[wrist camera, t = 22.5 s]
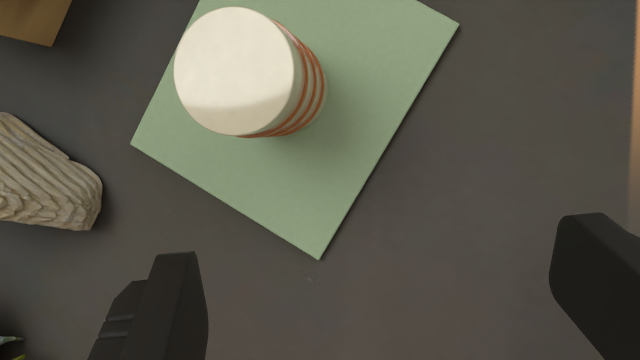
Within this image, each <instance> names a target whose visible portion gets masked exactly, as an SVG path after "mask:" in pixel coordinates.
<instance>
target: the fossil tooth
mask: <svg viewBox="0 0 640 360" xmlns="http://www.w3.org/2000/svg"><path fill="white" fill-rule="evenodd" d="M101 197H102V183H101V180H100V178H99V177H98V176H97V175H96V174H95V173H94V172H93V171H91V170H90V169H88V168H87V167H85V166H83V165H81V164H79V163H76V162H74V161H70V160H69V157H68V156H67V155H66V154H64V153H63V152H62V151H60V150H59V149H57V148H56V147H55V146H53V145H52V144H50V143H49V142H48V141H46V140H45V139H43V138H42V137H40V136H39V135H38V134H37V133H36V132H35V131H33V130H32V129H31V128H30V127H28V126H27V125H26V124H24V123H23V122H22V121H20V120H19V119H18V118H16V117H14V116H13V115H11V114H9V113H4V112H0V220H2V221H5V220H6V221H14V222H18V223H25V224H31V225H33V224H38V225H42V226H52V227H57V228H62V229H67V228H68V229H71V230H74V231H78V230H90V229H91V227H92V225H93V224H94V222H95V220H96V218H97V215H98V213H99V212H100V211H101Z"/></svg>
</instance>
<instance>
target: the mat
mask: <svg viewBox="0 0 640 360" xmlns="http://www.w3.org/2000/svg"><path fill="white" fill-rule="evenodd" d="M229 6H241V7H247V8H250V9H253V10H256V11H258V12H260V13H262V14H264V15H266V16H267V17H269V18H271V19H273V20H275V21H277V22H278V23H280V24H281V25H283V26H284V27H285V28H287V29H288V30H289V31H290V32H291V33H292V34H293V35H295V36H296V37H297V38H298V39H299V40H300V41H301V42H303V43H304V44H305V45H306V46H307V47H309V48H310V49H311V51H312V52H313V53H314V54H315V56H316V57H317V59H318V60H319V62H320V63H321V65H322V67H323V69H324V71H325V74H326V77H327V82H328V95H327V100H326V103H325V106H324V108H323V110H322V112H321V114H320V115H319V117H318V118H317V119H316V120H315V121H314V122H313V123H312V124H311V125H309V126H308V127H306V128H305V129H303V130H301V131H298V132H295V133H292V134H289V135H285V136H278V137H259V138H241V137H236V136H227V135H222V134H218V133H215V132H212V131H210V130H208V129H206V128H204V127H203V126H201V125H200V124H198V123H197V122H196V121H195V120H194V119H193V118H192V117H191V116H190V115H189V114H188V113H187V111H186V110H185V108H184V107H183V105H182V103H181V101H180V99H179V97H178V94H177V92H176V88H175V84H174V76H173V65H174V58H175V54H176V50H177V48H176V50H175V52H174V55H173V57H172V59H171V61H170V63H169V65H168V67H167V69H166V71H165V73H164V75H163V77H162V79H161V81H160V83H159V85H158V87H157V89H156V92H155V94H154V96H153V98H152V100H151V102H150V104H149V106H148V108H147V110H146V112H145V114H144V116H143V118H142V120H141V122H140V124H139V126H138V129H137V131H136V133H135V135H134V137H133V139H132V141H131V143H130V144H131V145H133V146H134V147H136V148H137V149H139V150H141V151H142V152H144V153H145V154H147V155H149V156H150V157H152V158H154V159H155V160H157V161H158V162H160V163H162V164H163V165H165V166H166V167H168V168H170V169H171V170H173V171H175V172H176V173H178V174H179V175H181V176H183V177H184V178H186V179H188V180H189V181H191V182H192V183H194V184H196V185H197V186H199V187H200V188H202V189H204V190H205V191H207V192H209V193H210V194H212V195H213V196H215V197H217V198H218V199H220V200H222V201H223V202H225V203H226V204H228V205H230V206H231V207H233V208H234V209H236V210H238V211H239V212H241V213H243V214H244V215H246V216H247V217H249V218H251V219H252V220H254V221H256V222H257V223H259V224H260V225H262V226H264V227H265V228H267V229H268V230H270V231H272V232H273V233H275V234H277V235H278V236H280V237H281V238H283V239H285V240H286V241H288V242H290V243H291V244H293V245H294V246H296V247H298V248H299V249H301V250H302V251H304V252H306V253H307V254H309V255H311V256H312V257H314V258H315V259H317V260H319V259H320V257H321V256H322V254H323V252H324V251H325V249H326V247H327V246H328V244H329V242H330V241H331V239H332V237H333V236H334V234H335V232H336V231H337V229H338V227H339V226H340V224H341V222H342V221H343V219H344V217H345V216H346V214H347V212H348V211H349V209H350V207H351V206H352V204H353V202H354V201H355V199H356V197H357V195H358V194H359V192H360V190H361V189H362V187H363V185H364V184H365V182H366V180H367V179H368V177H369V175H370V174H371V172H372V170H373V169H374V167H375V165H376V164H377V162H378V160H379V159H380V157H381V155H382V154H383V152H384V150H385V149H386V147H387V145H388V144H389V142H390V140H391V139H392V137H393V135H394V133H395V132H396V130H397V128H398V127H399V125H400V123H401V122H402V120H403V118H404V117H405V115H406V113H407V112H408V110H409V108H410V107H411V105H412V103H413V102H414V100H415V98H416V97H417V95H418V93H419V92H420V90H421V88H422V87H423V85H424V83H425V82H426V80H427V78H428V77H429V75H430V73H431V71H432V70H433V68H434V66H435V65H436V63H437V61H438V60H439V58H440V56H441V55H442V53H443V51H444V50H445V48H446V46H447V45H448V43H449V41H450V40H451V38H452V36H453V35H454V33H455V31H456V30H457V28H458V26H459V23H457V22H455V21H453V20H451V19H449V18H448V17H446V16H444V15H442V14H440V13H438V12H437V11H435V10H433V9H431V8H429V7H427V6H426V5H424V4H422V3H420V2H418V1H416V0H200V1H199V3H198V5H197V7H196V9H195V11H194V13H193V16H192V18H191V20H190V22H189V24H188V26H187V28H186V30H185V32H186V31H187V29H188V28H189V27H190V26H191V25H192V24H193V23H194V22H195V21H196V20H197V19H199V18H200V17H201V16H203V15H204V14H206V13H208V12H210V11H213V10H215V9H218V8H222V7H229ZM185 32H184V33H185ZM183 35H184V34H183ZM182 37H183V36H182ZM181 39H182V38H181ZM178 45H179V44H178ZM177 47H178V46H177Z"/></svg>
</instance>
